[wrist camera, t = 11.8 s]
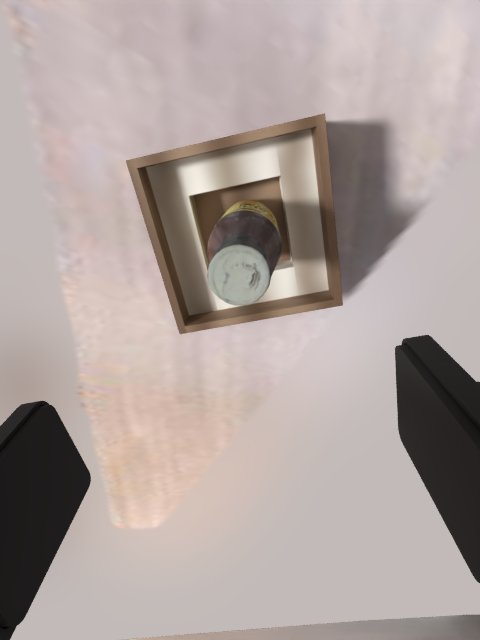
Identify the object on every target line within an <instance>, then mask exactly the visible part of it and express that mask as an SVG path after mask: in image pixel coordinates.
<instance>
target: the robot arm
mask: <svg viewBox="0 0 480 640" xmlns="http://www.w3.org/2000/svg"><path fill="white" fill-rule="evenodd" d="M395 358H396V359H395V360H396V384H397V407H398V429H399V434H400V438H401V441H402V443H403V445H404V447H405V448H406V450H407V452H408V454H409V456H410V458H411V460H412V462H413V464H414V466H415V467H416V469H417V471H418V473H419V475H420V477H421V479H422V481H423V482H424V484H425V486H426V488H427V490H428V492H429V494H430V496H431V497H432V499H433V501H434V503H435V505H436V507H437V509H438V511H439V513H440V514H441V516H442V518H443V520H444V522H445V524H446V526H447V528H448V530H449V531H450V533H451V535H452V537H453V539H454V541H455V543H456V545H457V546H458V548H459V550H460V552H461V554H462V556H463V558H464V559H465V561H466V563H467V565H468V567H469V569H470V571H471V573H472V574H473V576H474V578H475V579H476V580H477V582H479V583H480V382H476V381H475V380H474V379H473V378H472V377H471V376H470V375H469V374H468V373H467V372H466V371H465V370H464V369H463V368H462V367H461V366H460V365H459V364H458V363H457V362H456V361H455V360H454V359H453V358H452V357H451V356H450V355H449V354H448V353H447V352H446V351H444V349H443V348H442V347H441V346H440V345H439V344H438V343H437V342H436V341H435V340H433V338H432V337H430V336H429V335H424V336H418V337H412V338H406V339H403V341H402V345H399V346H396V348H395ZM90 481H91V477H90V473H89V470H88V469H87V467H86V465H85V463H84V461H83V460H82V458H81V456H80V454H79V452H78V450H77V448H76V446H75V445H74V443H73V441H72V439H71V437H70V436H69V433H68V432H67V430H66V428H65V426H64V424H63V422H62V421H61V419H60V417H59V415H58V413H57V411H56V410H55V408H54V407H53V406H52V405H49V404H48V403H47V402H45V401H38V402H33V403H26V404H22V405H20V406H19V407H18V408H17V409H16V410H15V411H14V412H13V413H12V414H11V416H9V418H8V419H7V420H6V421H5V422H4V423H3V424H2V425H1V426H0V640H10V638H11V636H12V634H13V632H14V630H15V628H16V626H17V625H18V624H20V623H21V622H22V621H23V619H24V617H25V616H26V614H27V612H28V610H29V608H30V606H31V604H32V602H33V600H34V598H35V596H36V594H37V592H38V590H39V587H40V585H41V583H42V581H43V579H44V577H45V575H46V573H47V571H48V569H49V567H50V565H51V563H52V561H53V559H54V557H55V555H56V553H57V551H58V549H59V547H60V545H61V543H62V541H63V539H64V537H65V535H66V532H67V531H68V529H69V527H70V524H71V523H72V520H73V518H74V516H75V514H76V512H77V510H78V508H79V506H80V504H81V502H82V500H83V498H84V496H85V494H86V492H87V490H88V488H89V486H90ZM126 640H480V615H456V616H438V617H421V618H405V619H404V618H403V619H386V620H368V621H353V622H340V623H327V624H315V625H301V626H288V627H275V628H262V629H249V630H236V631H223V632H210V633H198V634H186V635H174V636H161V637H149V638H137V639H126Z"/></svg>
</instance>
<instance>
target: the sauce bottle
mask: <svg viewBox="0 0 480 640" xmlns="http://www.w3.org/2000/svg"><path fill="white" fill-rule="evenodd" d="M207 252H208V255H207V257H208V259H209V262H210V263H209V267H208V274H207V278H208V281H209V285H210V287H211V289H212V291H213V292H214V294H215V295H216V296H217V297H218V298H220V299H221V300H223V301H224V302H226V303H228V304H231V305H237V306H239V305H247V304H251V303H253V302H255V301H257V300H259V298H261V297H262V296H263V295H264V293H265V292H266V291H267V289H268V287H269V285H270V280H271V276H272V274H273V272H274V270H275V267H276V265H277V263H278V261H279V258H280V256H281V253H282V241H281V236H280V232H279V229H278V225H277V222H276V219H275V216H274V214H273V213H272V212H271V210H270V209H269V208H268V207H267V206H265V205H264V204H262V203H260V202H258V201H254V200H244V201H240V202H237V203H235V204H234V205H232V206H231V207H230V208H229V209H228V210H227V211H226V213H225V214H224V215H223V216H222V217H221V219H220V220H219V221H218V223H217V224H216V225H215V227H214V229H213V231H212V233H211V235H210V238H209V241H208V250H207Z"/></svg>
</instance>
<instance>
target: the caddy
mask: <svg viewBox="0 0 480 640" xmlns="http://www.w3.org/2000/svg"><path fill="white" fill-rule="evenodd" d="M126 163H127V166H128V169H129V172H130V176H131V179H132V182H133V185H134V188H135V192H136V195H137V198H138V201H139V204H140V208H141V211H142V214H143V217H144V221H145V224H146V227H147V230H148V233H149V237H150V240H151V243H152V246H153V249H154V253H155V256H156V259H157V262H158V266H159V269H160V272H161V275H162V278H163V282H164V285H165V288H166V291H167V294H168V298H169V301H170V304H171V307H172V310H173V314H174V317H175V320H176V323H177V327H178V330H179V333H180V334H183V333H189V332H195V331H200V330H206V329H212V328H217V327H223V326H229V325H234V324H240V323H246V322H251V321H257V320H263V319H268V318H274V317H279V316H285V315H291V314H296V313H302V312H308V311H313V310H319V309H325V308H330V307H336V306H342V305H343V302H342V291H341V280H340V270H339V259H338V248H337V238H336V227H335V216H334V205H333V195H332V184H331V173H330V163H329V152H328V141H327V131H326V120H325V114H321V115H317V116H313V117H308V118H304V119H300V120H296V121H292V122H287V123H283V124H279V125H275V126H270V127H266V128H262V129H258V130H253V131H249V132H245V133H241V134H237V135H232V136H228V137H224V138H220V139H215V140H211V141H207V142H203V143H198V144H194V145H190V146H186V147H182V148H177V149H173V150H169V151H165V152H160V153H156V154H152V155H148V156H144V157H139V158H135V159H131V160H127V161H126ZM244 200H254V201H258V202H260V203H262V204H264V205H265V206H267V207H268V208H269V209H270V210H271V212H272V213H273V214H274V216H275V219H276V222H277V225H278V229H279V232H280V236H281V241H282V253H281V256H280V258H279V261H278V263H277V265H276V267H275V270H274V272H273V274H272V276H271V280H270V285H269V287H268V289H267V291H266V292H265V293H264V295H263V296H262V297H261V298H259V300H257V301H255V302H253V303H251V304H247V305H239V306H237V305H231V304H228V303H226V302H224V301H223V300H221V299H220V298H218V297H217V296H216V295H215V294H214V292H213V291H212V289H211V287H210V285H209V281H208V278H207V274H208V267H209V263H210V262H209V259H208V257H207V255H208V252H207V250H208V241H209V238H210V235H211V233H212V231H213V229H214V227H215V225H216V224H217V223H218V221H219V220H220V219H221V217H222V216H223V215H224V214H225V213H226V211H227V210H228V209H229V208H230V207H231V206H232V205H234V204H235V203H237V202H240V201H244Z"/></svg>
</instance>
